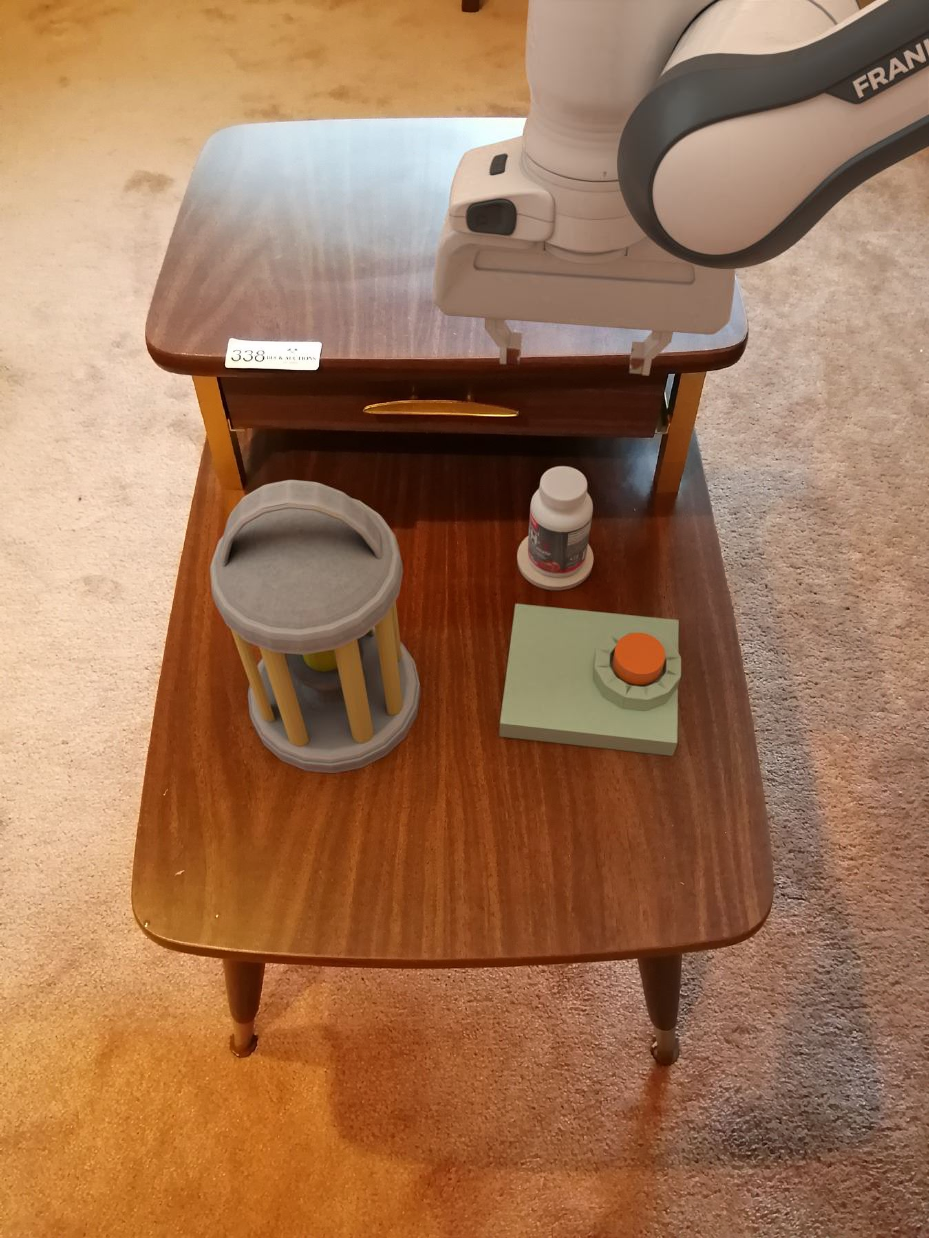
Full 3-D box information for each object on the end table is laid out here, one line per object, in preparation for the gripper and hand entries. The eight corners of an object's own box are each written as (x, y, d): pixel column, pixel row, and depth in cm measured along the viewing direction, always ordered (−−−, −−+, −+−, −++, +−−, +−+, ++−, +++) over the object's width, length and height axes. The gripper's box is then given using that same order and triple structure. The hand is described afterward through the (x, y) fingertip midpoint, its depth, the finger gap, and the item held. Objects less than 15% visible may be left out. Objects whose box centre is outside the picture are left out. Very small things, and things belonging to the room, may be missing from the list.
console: (674, 634, 86) (682, 607, 83) (673, 756, 79) (681, 731, 76) (514, 618, 87) (516, 590, 84) (499, 736, 80) (500, 711, 77)
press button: (662, 647, 81) (666, 634, 79) (661, 688, 78) (665, 676, 77) (613, 642, 81) (616, 629, 80) (611, 682, 79) (613, 671, 77)
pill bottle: (514, 557, 90) (518, 482, 82) (553, 525, 93) (560, 449, 85) (559, 589, 88) (567, 516, 80) (598, 556, 90) (609, 481, 82)
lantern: (418, 623, 87) (399, 408, 66) (423, 768, 78) (403, 572, 58) (256, 632, 86) (188, 418, 66) (244, 778, 78) (161, 584, 58)
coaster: (595, 535, 93) (595, 531, 92) (590, 594, 89) (591, 590, 88) (520, 528, 93) (521, 524, 93) (513, 586, 89) (513, 582, 89)
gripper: (759, 170, 62) (716, 348, 73) (439, 151, 64) (445, 327, 75) (763, 227, 58) (718, 405, 70) (423, 206, 60) (432, 382, 72)
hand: (574, 364), depth 72 cm, fingers open, 8 cm apart
